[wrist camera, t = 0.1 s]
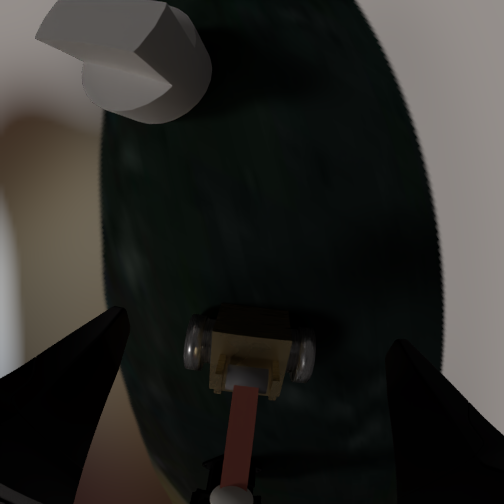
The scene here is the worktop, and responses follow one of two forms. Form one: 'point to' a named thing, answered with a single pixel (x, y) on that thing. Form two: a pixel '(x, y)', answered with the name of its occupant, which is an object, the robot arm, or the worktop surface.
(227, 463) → the valve lever
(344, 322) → the worktop surface
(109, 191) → the worktop surface
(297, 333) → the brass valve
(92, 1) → the base with upright slab
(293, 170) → the worktop surface
